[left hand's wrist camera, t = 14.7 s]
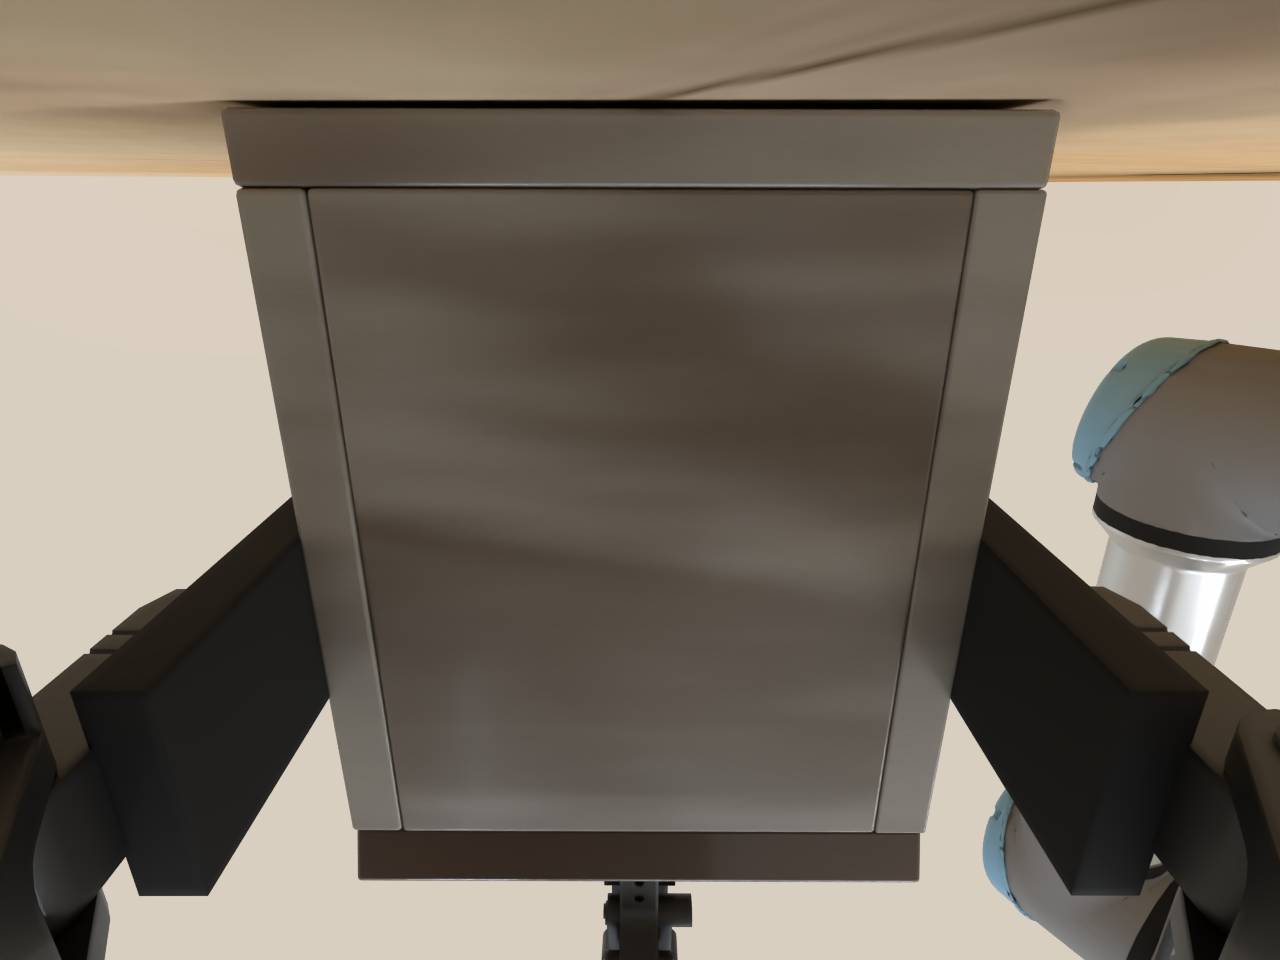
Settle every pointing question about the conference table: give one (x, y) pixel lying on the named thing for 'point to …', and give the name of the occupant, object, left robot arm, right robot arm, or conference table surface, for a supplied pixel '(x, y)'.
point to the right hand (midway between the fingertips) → (640, 721)
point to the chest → (640, 447)
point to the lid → (638, 856)
